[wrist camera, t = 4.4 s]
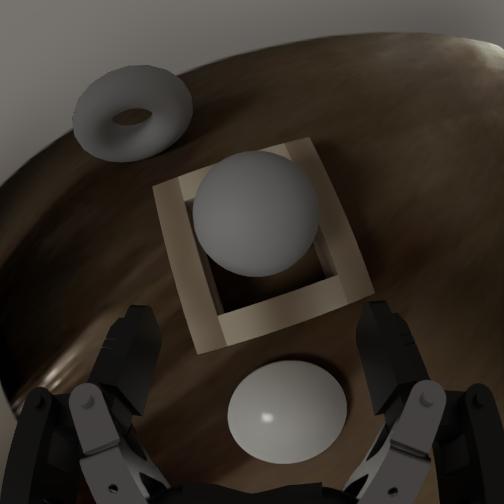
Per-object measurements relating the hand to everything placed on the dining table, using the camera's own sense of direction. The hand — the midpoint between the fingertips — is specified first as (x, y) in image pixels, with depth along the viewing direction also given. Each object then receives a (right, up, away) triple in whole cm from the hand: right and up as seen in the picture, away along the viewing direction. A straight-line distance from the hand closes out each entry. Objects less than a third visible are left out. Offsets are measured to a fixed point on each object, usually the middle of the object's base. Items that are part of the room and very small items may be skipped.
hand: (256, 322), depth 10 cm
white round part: (+3, -10, +9) cm, 13 cm away
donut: (-9, +12, +14) cm, 21 cm away
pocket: (0, +3, +11) cm, 12 cm away
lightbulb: (0, +3, +12) cm, 12 cm away
